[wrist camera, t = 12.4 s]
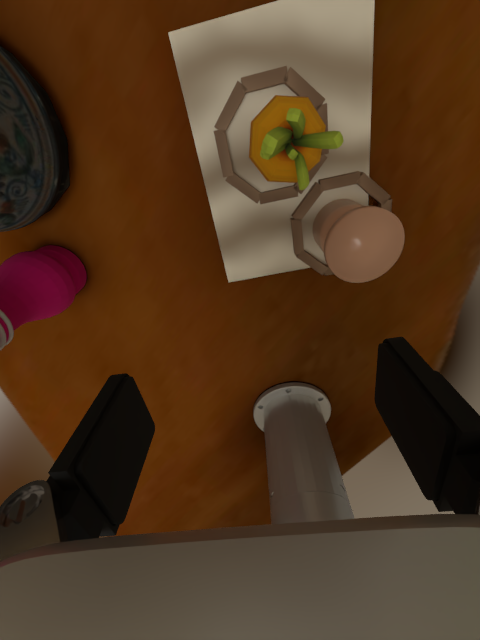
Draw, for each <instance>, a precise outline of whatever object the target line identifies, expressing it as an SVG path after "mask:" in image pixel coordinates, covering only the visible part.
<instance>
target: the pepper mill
mask: <svg viewBox="0 0 480 640" xmlns="http://www.w3.org/2000/svg"><path fill="white" fill-rule="evenodd" d="M86 279H87V275H86V270H85V267H84V265H83V264H82V262H81V261H80V259H79V258H78V257H77V256H76V255H75V254H73V253H72V252H70V251H69V250H67V249H65V248H63V247H60V246H54V245H48V246H44V247H41V248H39V249H37V250H35V251H26V252H21V253H18V254H15V255H13V256H12V257H10V258H9V259H7V260H6V261H4V262H3V263H2V265H1V266H0V350H1V349H2V348H3V347H4V346H5V345H7V344H8V343H10V341H11V340H12V338H13V335H14V330H15V329H16V328H18V327H19V326H20V325H22V324H24V323H26V322H30V321H34V320H40V319H45V318H49V317H52V316H55V315H57V314H59V313H61V312H62V311H64V310H65V309H67V308H68V307H69V306H70V305H71V303H72V302H73V300H74V298H75V295H76V294H77V293H78V292H79V291H80V290H81V289H82V288H83V287H84V285H85V283H86Z"/></svg>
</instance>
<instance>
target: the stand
mask: <svg viewBox="0 0 480 640" xmlns="http://www.w3.org/2000/svg"><path fill="white" fill-rule="evenodd" d="M374 2H375V0H278V1H275V2H271V3H268V4H264V5H261V6H258V7H254V8H251V9H247V10H244V11H240V12H237V13H233V14H230V15H227V16H223V17H220V18H216V19H213V20H209V21H206V22H202V23H199V24H196V25H192V26H189V27H185V28H182V29H178V30H175V31H172V32H168V34H169V38H170V42H171V47H172V51H173V55H174V59H175V63H176V67H177V71H178V75H179V80H180V84H181V88H182V92H183V96H184V100H185V104H186V108H187V113H188V117H189V121H190V125H191V129H192V133H193V137H194V142H195V146H196V150H197V154H198V158H199V162H200V166H201V170H202V175H203V179H204V183H205V187H206V191H207V195H208V199H209V203H210V208H211V212H212V216H213V220H214V224H215V228H216V232H217V237H218V241H219V245H220V249H221V253H222V257H223V261H224V265H225V270H226V274H227V278H228V282H234V281H239V280H245V279H250V278H256V277H261V276H266V275H272V274H277V273H283V272H288V271H293V270H299V269H304V268H310V267H311V268H313V269H314V270H315V271H317V272H318V273H320V274H321V275H323V274H324V275H325V276H326V275H332V274H334V273H333V272H332V271H331V269H330V268H329V266H328V265H327V263H326V261H325V257H324V253H323V251H322V250H321V249H320V247H319V246H318V245H317V243H316V242H315V240H314V237H313V223H314V220H315V217H316V216H317V214H318V212H319V211H320V210H321V209H322V208H323V207H324V206H325V205H326V204H328V203H330V202H331V201H334V200H337V199H350V200H353V201H355V202H357V203H359V204H362V205H364V206H368V195H370V196H371V197H372V198H373V199H375V200H376V201H377V202H378V207H381V208H383V209H386V210H388V211H390V212H391V207H392V199H390V197H391V196H390V195H389V194H388V193H387V192H385V191H384V190H383V189H382V188H381V187H380V186H379V185H377V184H376V183H375V182H374V181H373V180H372V179H371V178H370V177H369V163H370V131H371V99H372V67H373V35H374ZM275 95H281V96H299V97H308V98H309V100H310V101H311V103H312V104H313V106H314V108H315V109H316V111H317V112H318V114H319V116H320V117H321V119H322V120H323V122H324V124H325V125H326V128H325V132H327V131H340V133H341V134H342V136H343V140H344V141H343V143H342V145H341V146H340V147H339V148H337V149H322V152H321V158H320V162H318V163H317V164H316V165H315V166H314V167H313V168H312V169H311V170H310V171H309V172H308V174H309V185H308V187H307V188H306V189H304V190H299V185H298V182H297V183H288V182H269V181H267V180H266V179H265V178H264V176H263V175H262V174H261V172H260V171H259V170H258V169H257V167H256V166H255V165H254V163H253V162H252V161H251V160H250V158H249V147H250V128H251V121H252V120H253V119H254V118H255V117H256V116H257V115H258V114H259V112H260V111H261V110H262V109H263V108H264V107H265V106H266V105H267V104H268V103H269V101H270V100H271V99H272V98H273V97H274V96H275Z"/></svg>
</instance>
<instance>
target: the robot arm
mask: <svg viewBox="0 0 480 640" xmlns="http://www.w3.org/2000/svg"><path fill="white" fill-rule="evenodd" d="M375 404H376V407H377V409H378V411H379V413H380V415H381V416H382V418H383V420H384V422H385V424H386V426H387V428H388V429H389V431H390V433H391V435H392V437H393V439H394V441H395V442H396V444H397V446H398V448H399V450H400V452H401V454H402V455H403V457H404V459H405V461H406V463H407V465H408V467H409V468H410V470H411V472H412V474H413V476H414V478H415V480H416V482H417V483H418V485H419V487H420V489H421V491H422V493H423V494H424V496H425V497H426V499H427V500H433V502H434V504H435V506H436V507H437V509H438V511H439V512H442V511H454V513H455V514H434V515H433V514H431V515H410V516H390V517H374V518H359V519H354V515H353V512H352V509H351V506H350V503H349V499H348V496H347V493H346V490H345V486H344V483H343V479H342V476H341V473H340V470H339V466H338V463H337V460H336V456H335V453H334V450H333V446H332V443H331V440H330V437H329V433H328V430H327V427H326V422H327V421H328V419H329V417H330V414H331V406H330V403H329V400H328V398H327V396H326V395H325V393H324V392H322V391H321V390H320V389H318V388H317V387H315V386H312V385H309V384H305V383H297V382H291V383H284V384H280V385H276V386H274V387H272V388H270V389H268V390H266V391H265V392H264V393H262V394H261V395H260V396H259V398H258V399H257V400H256V402H255V405H254V409H253V413H254V420H255V423H256V424H257V426H258V427H259V428H260V429H261V430H262V431H263V432H264V433H265V446H266V458H267V471H268V484H269V496H270V509H271V523H272V524H270V525H256V526H242V527H229V528H215V529H201V530H188V531H176V532H163V533H150V534H137V535H125V536H114V535H116V533H117V530H118V527H119V524H122V523H123V522H124V520H125V518H126V515H127V512H128V509H129V506H130V503H131V500H132V497H133V494H134V491H135V488H136V485H137V482H138V479H139V476H140V473H141V470H142V467H143V464H144V462H145V459H146V456H147V453H148V450H149V447H150V444H151V441H152V438H153V435H154V432H155V425H154V422H153V420H152V417H151V415H150V413H149V411H148V409H147V407H146V404H145V402H144V400H143V398H142V396H141V394H140V391H139V389H138V387H137V385H136V383H135V381H134V379H133V377H131V376H130V377H129V375H128V374H117V375H112V376H110V377H109V378H108V380H107V381H106V383H105V385H104V386H103V388H102V389H101V391H100V392H99V394H98V396H97V397H96V399H95V400H94V402H93V403H92V405H91V407H90V408H89V410H88V411H87V413H86V414H85V416H84V417H83V419H82V421H81V422H80V424H79V425H78V427H77V428H76V430H75V432H74V433H73V435H72V436H71V438H70V439H69V441H68V443H67V444H66V446H65V447H64V449H63V450H62V452H61V454H60V455H59V457H58V458H57V460H56V461H55V463H54V464H53V466H52V468H51V469H50V471H49V472H48V473H49V474H50V477H49V478H48V480H47V481H44V480H37V481H33V482H30V483H28V484H26V485H24V486H22V487H20V488H19V489H18V490H16V491H15V492H14V493H12V494H11V495H10V496H9V497H8V498H7V499H6V500H5V501H4V503H3V504H2V505H1V506H0V640H480V416H479V415H478V413H477V412H476V411H475V410H474V409H473V408H472V407H471V406H470V405H469V404H468V403H467V402H466V401H465V399H464V398H462V396H461V395H460V394H459V393H458V392H457V391H456V390H455V389H454V388H453V386H452V385H451V384H450V383H449V382H448V381H447V380H446V379H445V378H444V377H443V376H442V375H441V374H440V373H439V372H437V371H433V369H432V368H431V367H430V366H429V365H428V364H427V363H426V362H425V361H424V360H423V358H422V357H421V356H420V355H419V354H418V353H417V352H416V351H415V350H414V349H413V347H412V346H411V345H410V344H409V343H408V342H407V341H406V340H405V339H404V338H403V337H396V338H389V339H385V340H384V341H383V343H382V344H379V346H378V359H377V373H376V387H375ZM99 536H114V537H104V538H99Z"/></svg>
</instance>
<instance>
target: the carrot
mask: <svg viewBox="0 0 480 640" xmlns="http://www.w3.org/2000/svg"><path fill="white" fill-rule="evenodd" d="M325 128H326V125H325V124H324V122H323V120H322V119H321V117H320V116H319V114H318V112H317V111H316V109H315V108H314V106H313V104H312V103H311V101H310V100H309V98H308V97H299V96H281V95H275V96H274V97H273V98H272V99H271V100H270V101H269V103H268V104H267V105H266V106H265V107H264V108H263V109H262V110H261V111H260V112H259V114H258V115H257V116H256V117H255V118H254V119H253V120H252V121H251V128H250V147H249V158H250V160H251V161H252V162H253V163H254V165H255V166H256V167H257V169H258V170H259V171H260V172H261V174H262V175H263V176H264V178H265V179H266V180H267V181H269V182H288V183H297V182H298V185H299V190H304V189H306V188H307V187H308V185H309V174H308V172H309V171H310V170H311V169H312V168H313V167H314V166H315V165H316V164H317V163H318V162H320V158H321V152H322V149H337V148H339V147H340V146H341V145H342V143H343V141H344V140H343V136H342V134H341V133H340V131H327V132H325Z"/></svg>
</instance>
